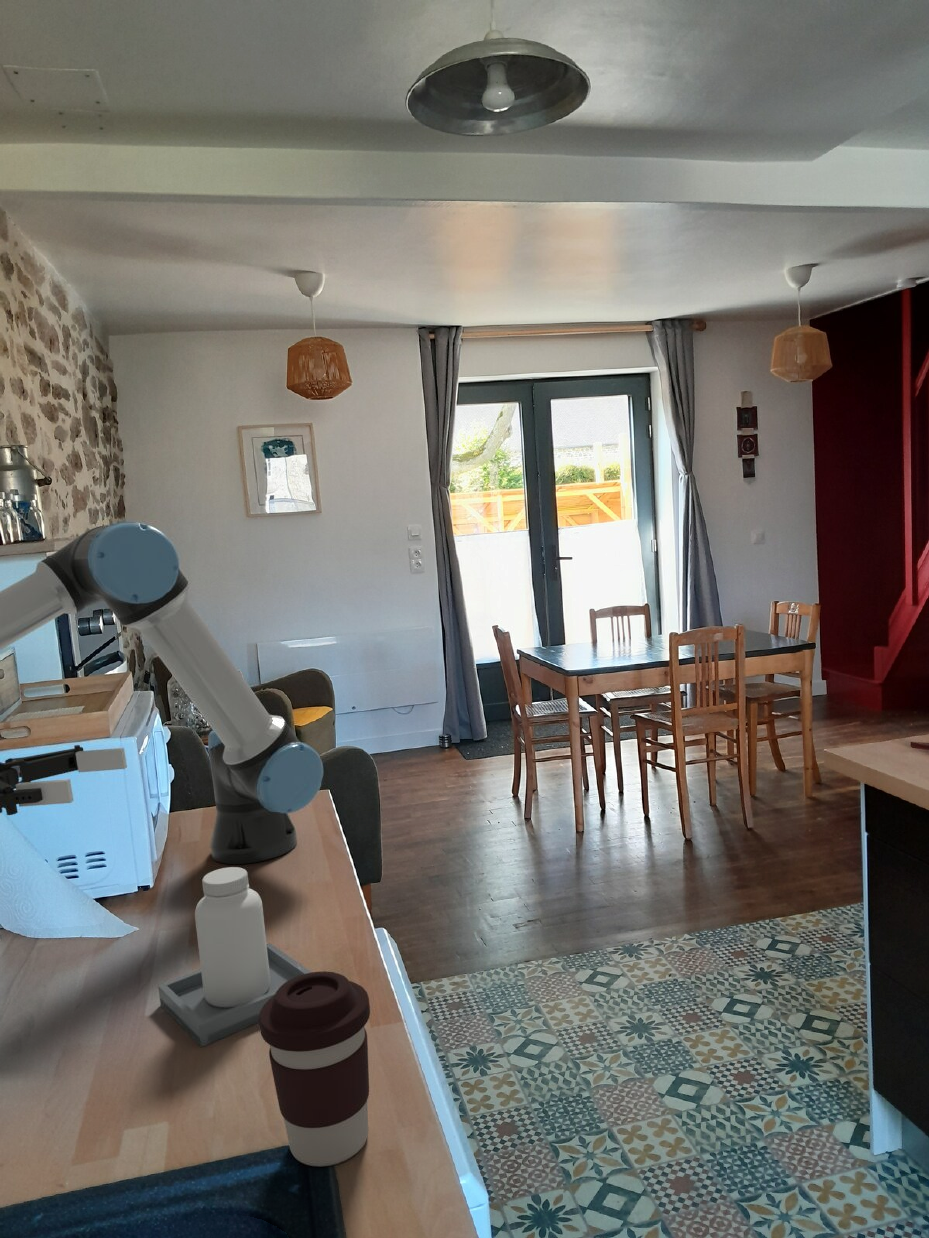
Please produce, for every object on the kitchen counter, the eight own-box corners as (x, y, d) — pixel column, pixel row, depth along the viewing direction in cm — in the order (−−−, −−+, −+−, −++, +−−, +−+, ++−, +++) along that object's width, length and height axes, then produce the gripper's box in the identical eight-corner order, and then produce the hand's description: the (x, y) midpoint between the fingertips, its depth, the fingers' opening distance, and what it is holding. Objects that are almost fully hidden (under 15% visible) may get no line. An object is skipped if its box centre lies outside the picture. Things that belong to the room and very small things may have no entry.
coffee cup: (389, 1165, 82) (372, 1005, 80) (275, 1190, 80) (255, 1027, 78) (377, 1098, 91) (361, 954, 90) (275, 1119, 90) (257, 973, 88)
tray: (271, 960, 123) (269, 942, 123) (319, 995, 113) (317, 975, 112) (160, 1004, 114) (158, 985, 113) (201, 1046, 103) (198, 1025, 103)
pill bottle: (255, 1010, 108) (240, 888, 107) (192, 1009, 110) (177, 888, 108) (281, 976, 116) (268, 861, 114) (223, 975, 118) (208, 862, 116)
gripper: (6, 783, 132) (147, 772, 129) (-122, 850, 107) (49, 838, 105) (-3, 732, 131) (139, 720, 128) (-135, 788, 106) (38, 774, 104)
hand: (99, 773), depth 116 cm, fingers open, 13 cm apart
